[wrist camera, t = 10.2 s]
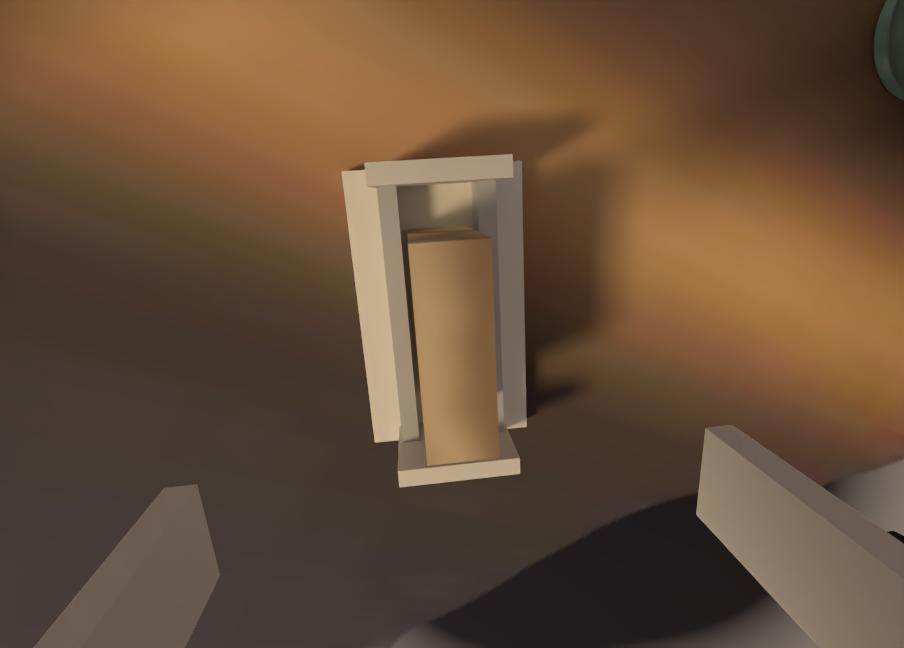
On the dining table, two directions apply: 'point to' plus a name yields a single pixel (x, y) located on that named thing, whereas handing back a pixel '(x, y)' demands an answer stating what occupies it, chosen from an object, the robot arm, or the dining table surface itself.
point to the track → (391, 304)
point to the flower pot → (890, 47)
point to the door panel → (455, 342)
